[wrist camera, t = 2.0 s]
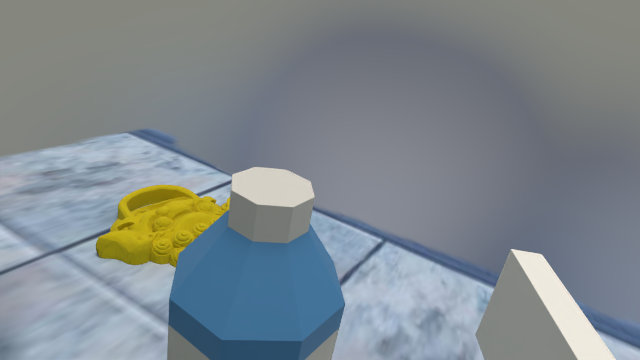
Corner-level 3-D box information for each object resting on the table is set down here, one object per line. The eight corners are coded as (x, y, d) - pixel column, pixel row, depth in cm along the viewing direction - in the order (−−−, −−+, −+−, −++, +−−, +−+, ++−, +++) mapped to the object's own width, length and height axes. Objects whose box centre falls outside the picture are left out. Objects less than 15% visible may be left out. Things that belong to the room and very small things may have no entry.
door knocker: (138, 195, 67) (137, 170, 65) (245, 210, 68) (248, 186, 66) (86, 261, 52) (84, 231, 50) (224, 279, 53) (227, 250, 51)
